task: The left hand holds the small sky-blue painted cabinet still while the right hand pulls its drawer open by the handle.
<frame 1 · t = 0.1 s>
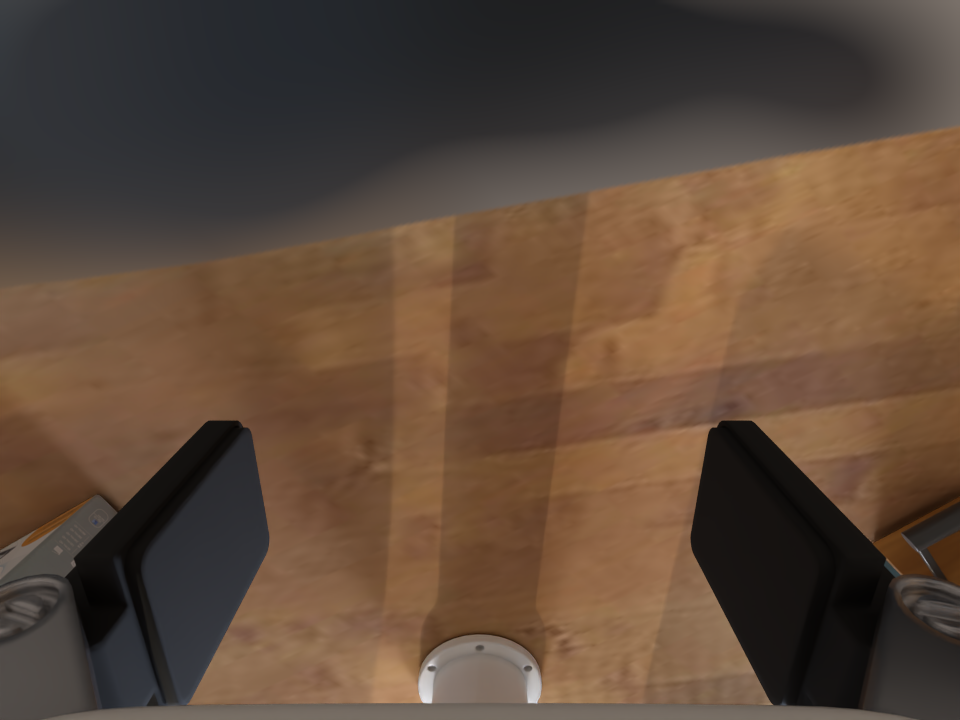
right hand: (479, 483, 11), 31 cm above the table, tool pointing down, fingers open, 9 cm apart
hard drive box: (69, 553, 51), on the table
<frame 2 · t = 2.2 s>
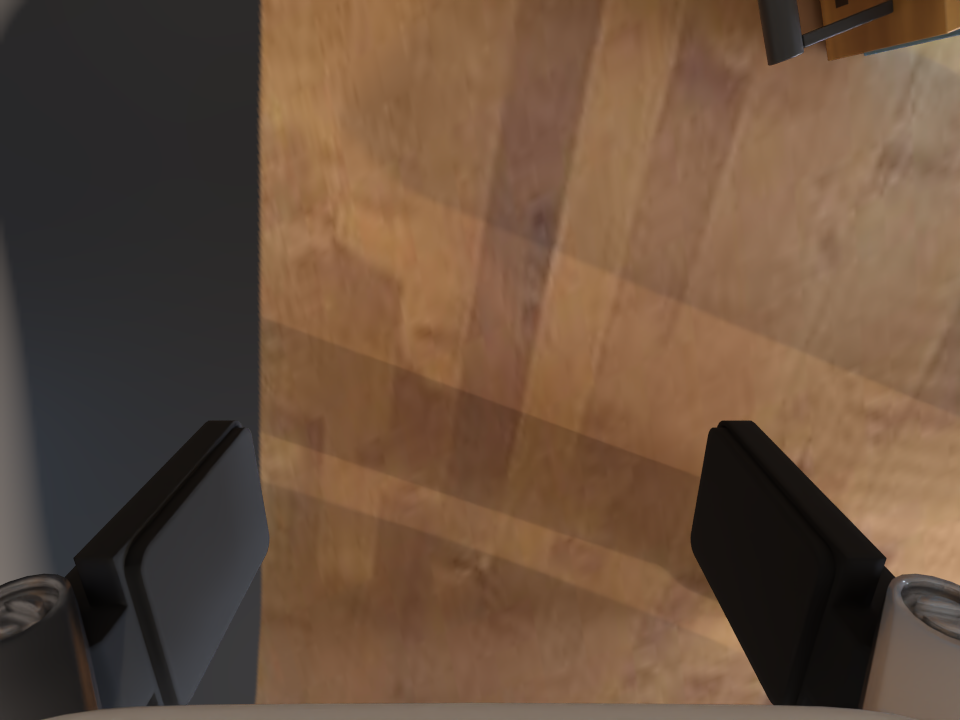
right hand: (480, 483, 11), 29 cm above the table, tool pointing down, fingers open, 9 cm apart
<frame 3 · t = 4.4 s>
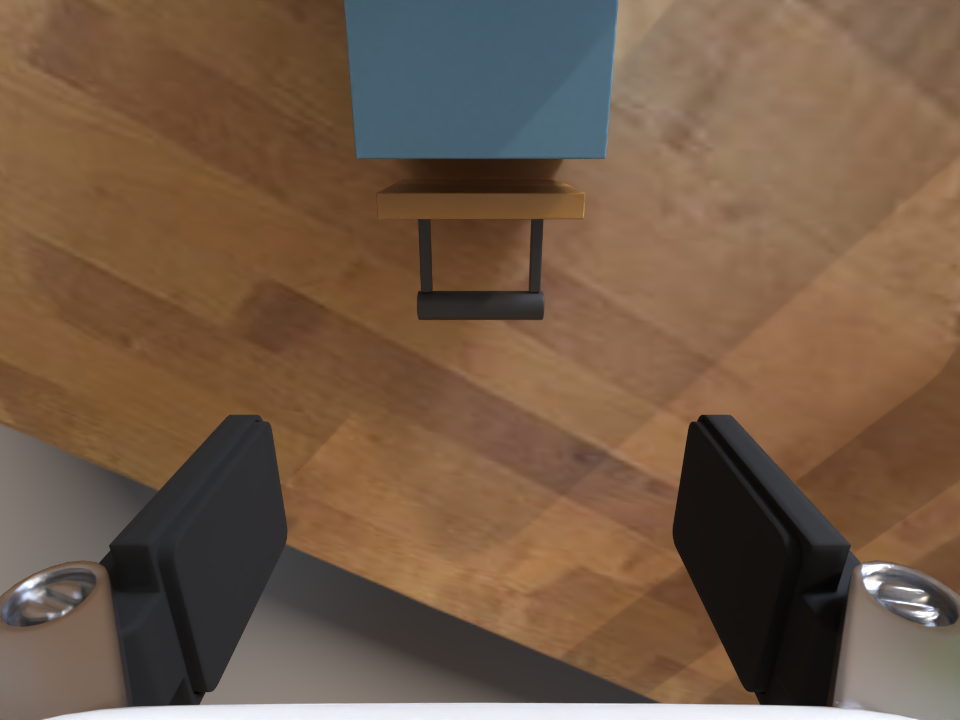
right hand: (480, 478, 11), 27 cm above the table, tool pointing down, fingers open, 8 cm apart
drawer: (480, 100, 28), point 6 cm above the table, slide at 1.5 cm
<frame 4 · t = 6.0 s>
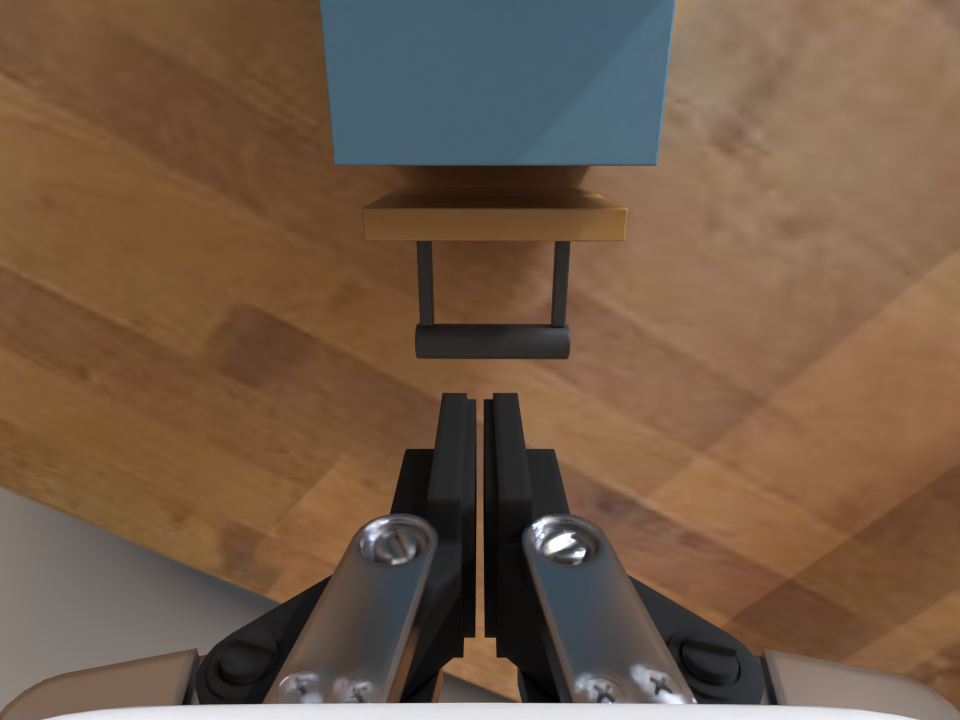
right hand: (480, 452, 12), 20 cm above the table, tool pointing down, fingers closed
drawer: (494, 91, 23), point 6 cm above the table, slide at 1.5 cm
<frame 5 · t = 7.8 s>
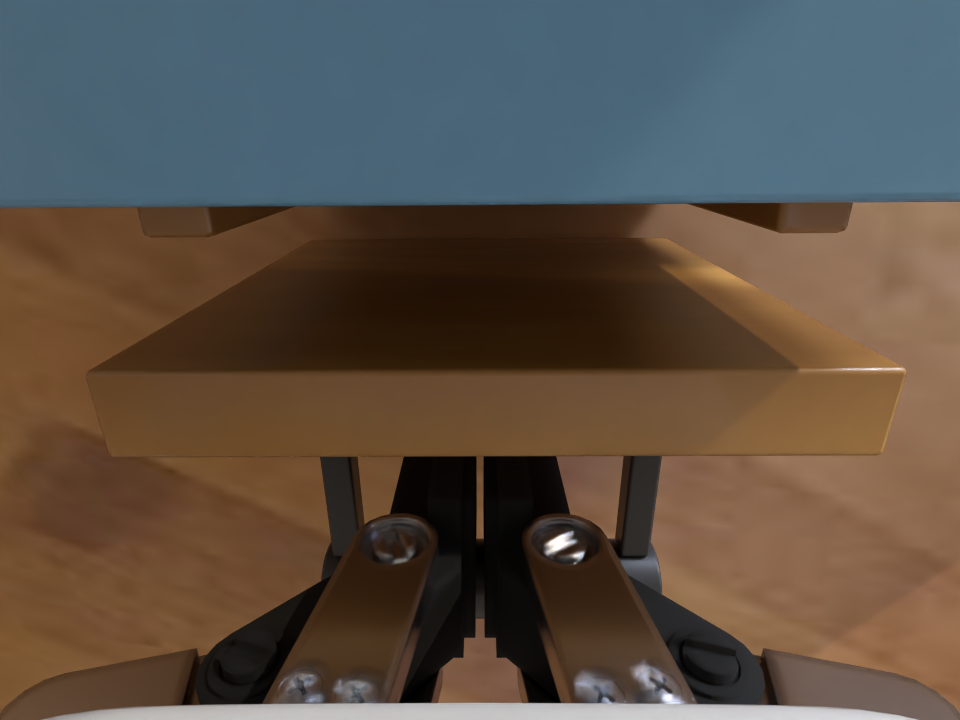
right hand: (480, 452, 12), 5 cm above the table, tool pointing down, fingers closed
drawer: (489, 33, 9), point 6 cm above the table, slide at 2.0 cm, touching right hand
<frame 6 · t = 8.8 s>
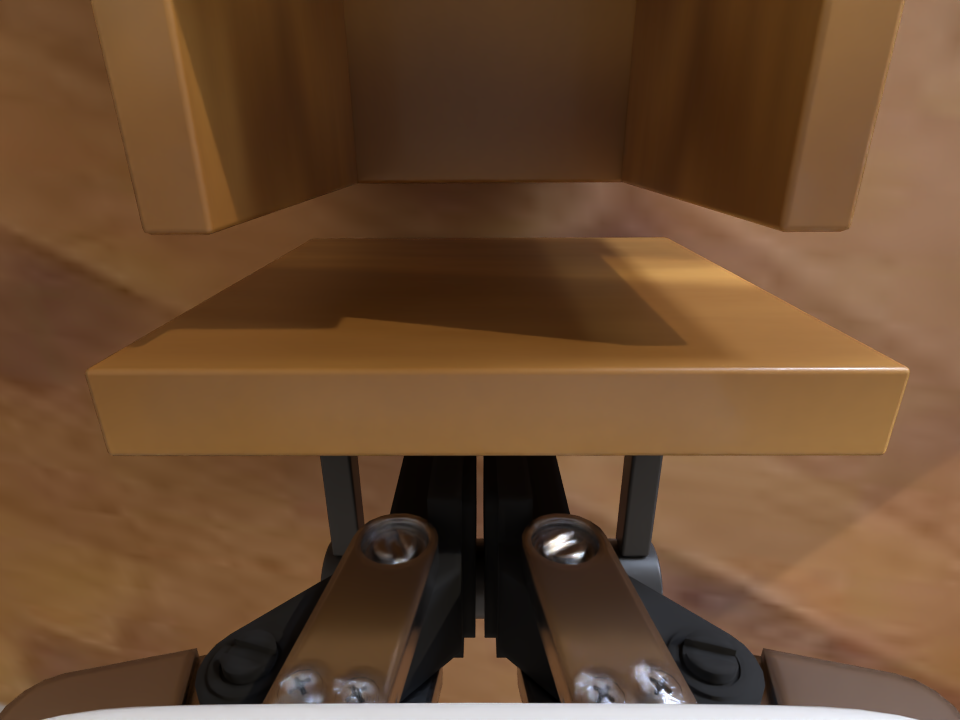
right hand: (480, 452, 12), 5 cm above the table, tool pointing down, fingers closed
drawer: (491, 30, 9), point 6 cm above the table, slide at 8.3 cm, touching right hand
when the left hand's fingers open (7 cm above the table, at t = 10.6 s): cabinet stays where it is, on the table.
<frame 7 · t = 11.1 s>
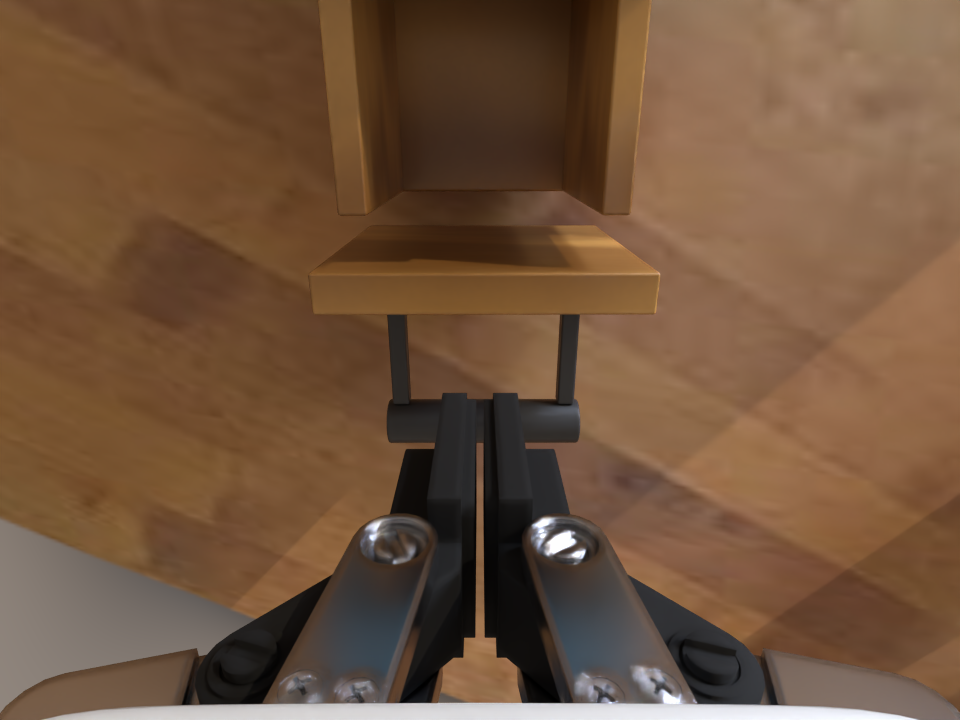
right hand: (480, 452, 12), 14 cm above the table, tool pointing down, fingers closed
drawer: (483, 115, 18), point 6 cm above the table, slide at 8.3 cm
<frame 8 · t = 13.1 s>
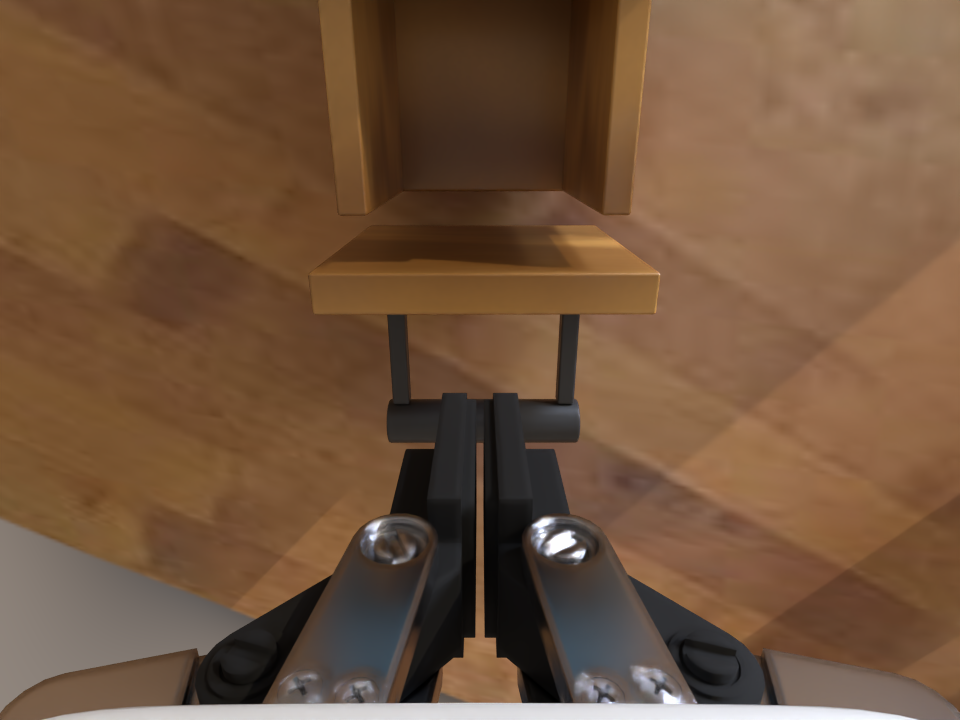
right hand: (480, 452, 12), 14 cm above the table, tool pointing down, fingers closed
drawer: (483, 115, 18), point 6 cm above the table, slide at 8.3 cm
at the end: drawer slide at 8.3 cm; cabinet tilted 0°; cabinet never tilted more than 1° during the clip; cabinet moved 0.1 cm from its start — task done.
